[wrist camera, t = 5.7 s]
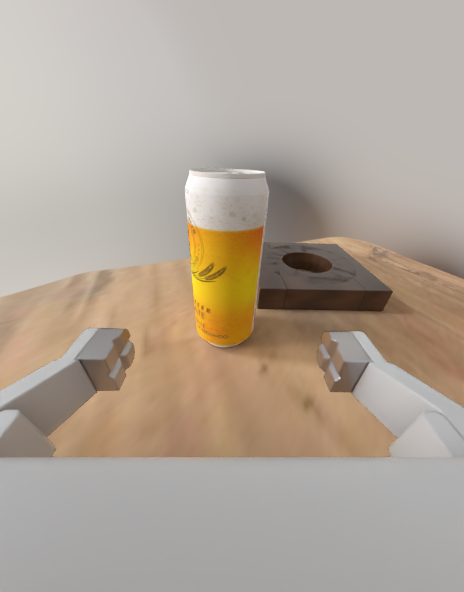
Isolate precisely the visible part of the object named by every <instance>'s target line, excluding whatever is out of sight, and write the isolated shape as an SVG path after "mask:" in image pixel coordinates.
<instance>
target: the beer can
mask: <svg viewBox="0 0 464 592" xmlns="http://www.w3.org/2000/svg"><path fill="white" fill-rule="evenodd" d="M185 197H186V209H187V221H188V233H189V245H190V257H191V269H192V281H193V293H194V305H195V317H196V328H197V332H198V334H199V335H200V336H201V337H202V338H203V339H204V340H206V341H207V342H208V343H210V344H212V345H214V346H217V347H233V346H236V345H238V344H240V343H242V342H243V341H245V340H246V339H247V338H248V337H249V336H250V335H251V334H252V332H253V327H254V319H255V310H256V302H257V293H258V284H259V276H260V267H261V259H262V250H263V241H264V232H265V224H266V215H267V207H268V198H269V188H268V185H267V182H266V178H265V172H263V171H256V170H243V169H219V168H201V169H190V170H189V177H188V180H187V183H186V186H185Z"/></svg>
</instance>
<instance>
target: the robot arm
mask: <svg viewBox="0 0 464 592" xmlns="http://www.w3.org/2000/svg"><path fill="white" fill-rule="evenodd" d="M129 338H130V334H129V331H128V330H127V329H113V328H88V329H85V330H84V331H83V332H82V334H81V335H80V336H79V337H78V338H77V340H76V341H75V342H74V343H73V344H72V346H71V347H70V348H69V349H68V350H67V352H66V353H65V354H64V355H63V356H62V357H61V359H60V360H54V361H52V362H50V363H49V364H47V365H45V366H43V367H42V368H40V369H38V370H36V371H34V372H33V373H31V374H29V375H27V376H26V377H24V378H22V379H20V380H18V381H17V382H15V383H13V384H11V385H10V386H8V387H6V388H4V389H3V390H1V391H0V592H464V407H462V406H461V405H459V404H457V403H456V402H454V401H452V400H451V399H449V398H448V397H446V396H444V395H443V394H441V393H439V392H438V391H436V390H435V389H433V388H431V387H430V386H428V385H426V384H425V383H423V382H422V381H420V380H418V379H417V378H415V377H414V376H412V375H410V374H409V373H407V372H405V371H404V370H402V369H401V368H399V367H397V366H396V365H394V364H392V363H387V362H386V360H385V359H384V358H383V356H382V355H381V354H380V352H379V351H378V350H377V349H376V347H375V346H374V345H373V343H372V342H371V341H370V339H369V338H368V337H367V336H366V334H365V333H363V332H362V331H349V332H348V331H325V332H324V333H323V334H322V337H321V339H322V341H323V343H321V344H320V345H319V346H318V349H317V361H318V364H319V367H320V368H321V369H322V370H323V371H324V372H325V375H324V379H325V381H326V383H327V386H328V388H329V390H330V392H352V393H351V394H352V395H353V396H354V397H355V398H356V399H357V400H358V401H359V402H361V403H362V404H363V405H364V406H365V407H366V408H367V409H368V410H369V411H370V412H371V413H372V414H373V415H374V416H375V417H376V418H377V419H378V420H379V421H380V422H381V423H382V424H383V425H384V426H385V427H386V428H387V429H388V430H389V431H390V432H391V433H392V434H394V435H395V436H396V437H397V439H396V440H395V441H394V442H393V443H392V444H391V445H390V446H389V449H388V450H389V452H390V454H391V456H392V457H52V455H53V453H54V452H55V450H56V449H55V445H54V444H53V443H52V442H51V441H50V440H49V439H48V438H47V437H48V436H49V435H50V434H51V433H52V432H53V431H54V430H55V429H57V428H58V427H59V426H60V425H61V424H62V423H63V422H64V421H65V420H67V419H68V418H69V417H70V416H71V415H72V414H73V413H74V412H75V411H77V410H78V409H79V408H80V407H81V406H82V405H83V404H84V403H85V402H87V401H88V400H89V399H90V398H91V397H92V396H93V395H94V394H95V393H97V391H114V390H120V388H121V385H122V383H123V381H124V379H125V377H126V373H125V370H126V369H127V368H129V367H130V366H131V364H132V362H133V359H134V354H135V351H134V345H133V343H132V342H130V341H129V340H128V339H129Z"/></svg>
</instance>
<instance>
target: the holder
mask: <svg viewBox="0 0 464 592" xmlns="http://www.w3.org/2000/svg"><path fill="white" fill-rule="evenodd" d="M296 269H305V270H310V271H312V272H315V273H309V272H304V271H299V270H296ZM392 292H393V291H392V290H391V289H390V288H388V287H387V286H386V285H385V284H384V283H382V282H381V281H380V280H379V279H378V278H376V277H375V276H374V275H373V274H372V273H370V272H369V271H368V270H367V269H366V268H364V267H363V266H362V265H361V264H360V263H358V262H357V261H356V260H355V259H354V258H352V257H351V256H350V255H349V254H348V253H346V252H345V251H344V250H343V249H342V248H340V247H339V246H338V245H337V244H308V243H270V242H268V243H267V242H263V250H262V259H261V267H260V276H259V284H258V293H257V302H256V303H257V308H263V309H310V310H367V311H382V310H383V309H384V307H385V305H386V303H387V301H388V299H389V298H390V296H391V294H392Z"/></svg>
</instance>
